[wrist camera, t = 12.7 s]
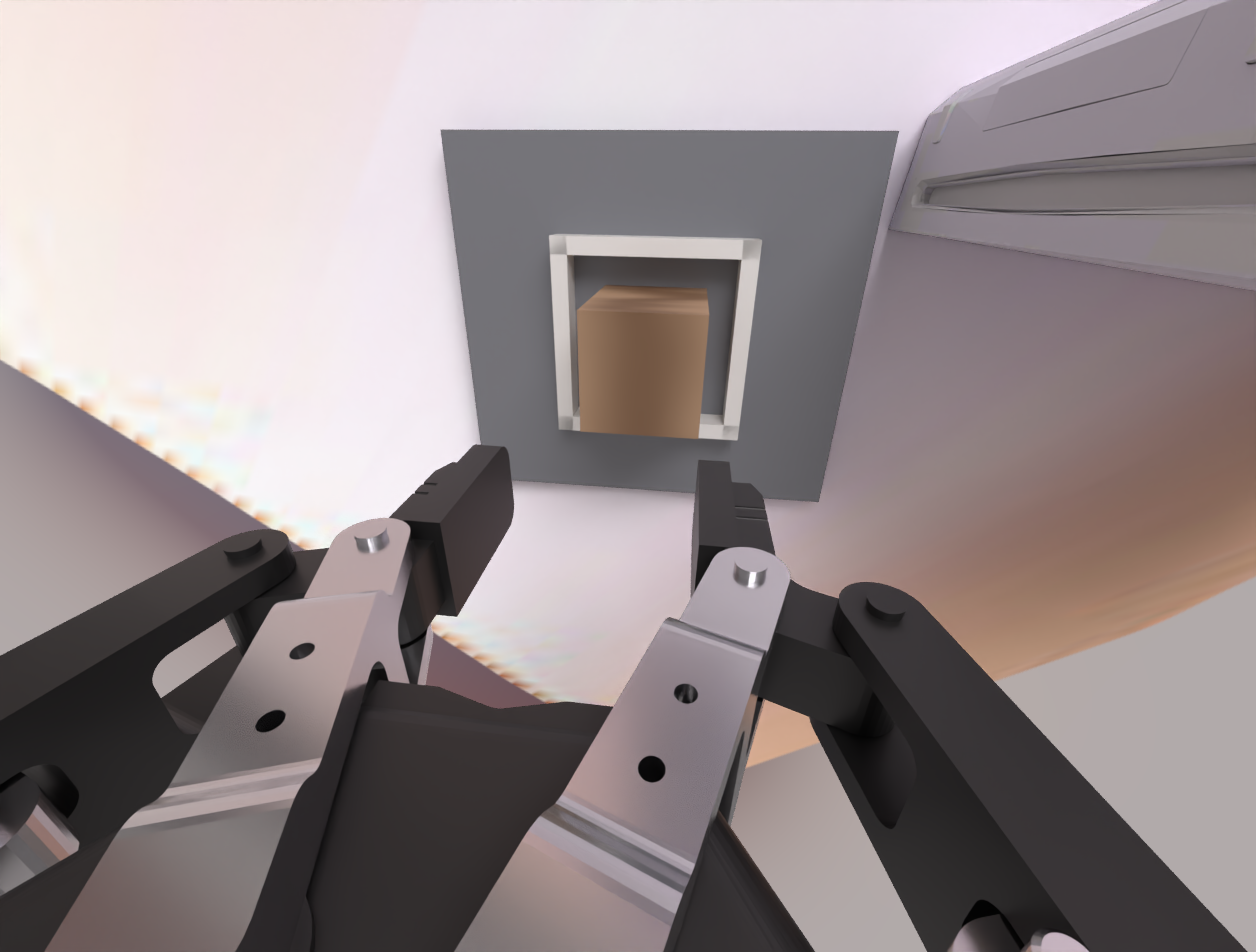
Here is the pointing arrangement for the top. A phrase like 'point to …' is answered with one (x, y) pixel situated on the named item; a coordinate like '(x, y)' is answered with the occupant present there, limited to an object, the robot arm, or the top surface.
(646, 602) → the top surface
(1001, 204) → the game console
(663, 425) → the walnut block
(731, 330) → the baseplate
